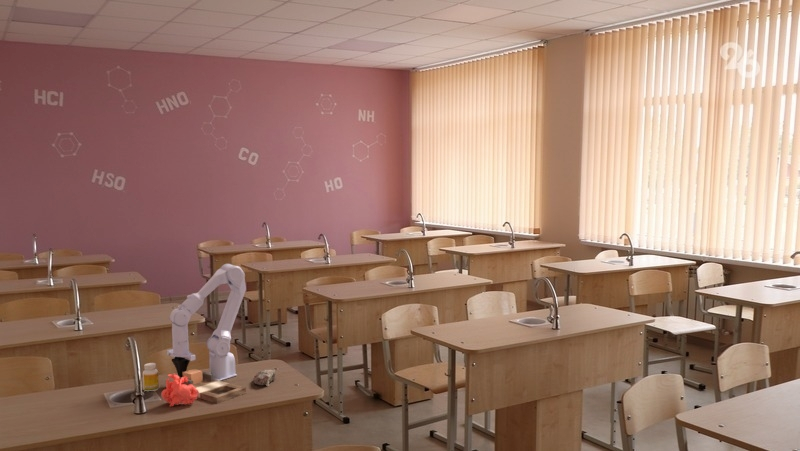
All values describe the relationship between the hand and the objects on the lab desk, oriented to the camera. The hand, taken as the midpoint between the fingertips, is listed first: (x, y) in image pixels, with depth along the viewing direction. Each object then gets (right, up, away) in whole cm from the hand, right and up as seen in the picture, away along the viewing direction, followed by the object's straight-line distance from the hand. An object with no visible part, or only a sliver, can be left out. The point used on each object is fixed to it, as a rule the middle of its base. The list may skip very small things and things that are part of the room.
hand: (181, 376), depth 255 cm
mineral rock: (+30, -3, +3) cm, 31 cm away
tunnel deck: (+11, -4, -8) cm, 14 cm away
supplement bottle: (-9, -4, -6) cm, 12 cm away
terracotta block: (+5, -1, -4) cm, 6 cm away
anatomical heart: (+7, -5, -22) cm, 23 cm away
